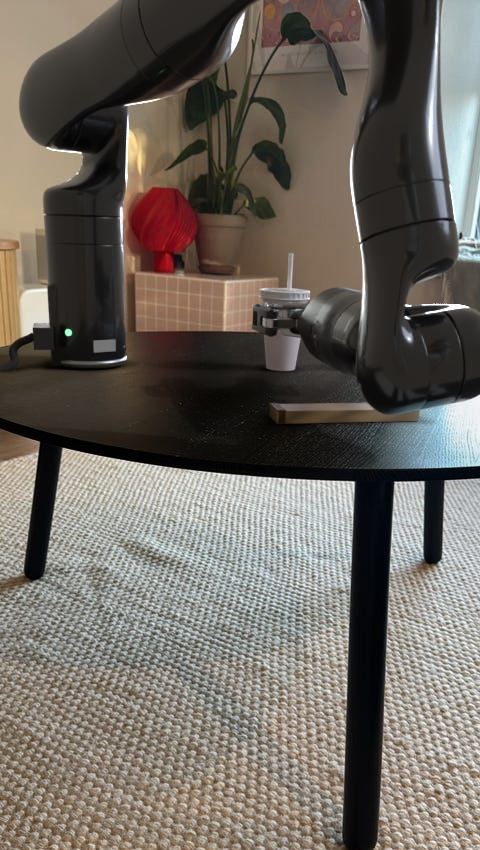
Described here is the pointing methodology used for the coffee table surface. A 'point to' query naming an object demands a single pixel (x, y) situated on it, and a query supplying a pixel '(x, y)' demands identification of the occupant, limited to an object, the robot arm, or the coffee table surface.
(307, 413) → the batten
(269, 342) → the smoothie
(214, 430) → the coffee table surface
